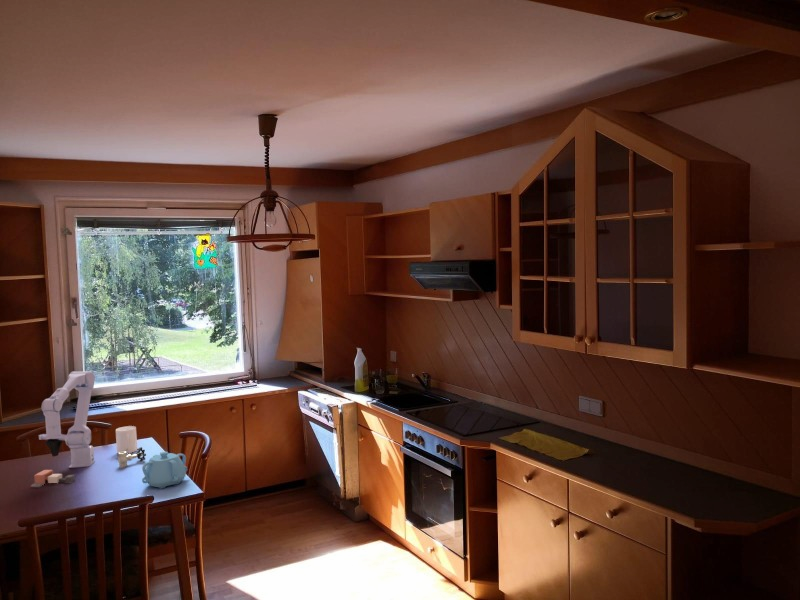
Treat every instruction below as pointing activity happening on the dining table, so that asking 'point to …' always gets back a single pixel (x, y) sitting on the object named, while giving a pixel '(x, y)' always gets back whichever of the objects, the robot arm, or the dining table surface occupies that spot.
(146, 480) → the decorative pot
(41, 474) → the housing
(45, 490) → the dining table surface
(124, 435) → the white cylinder
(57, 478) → the plug
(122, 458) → the valve
